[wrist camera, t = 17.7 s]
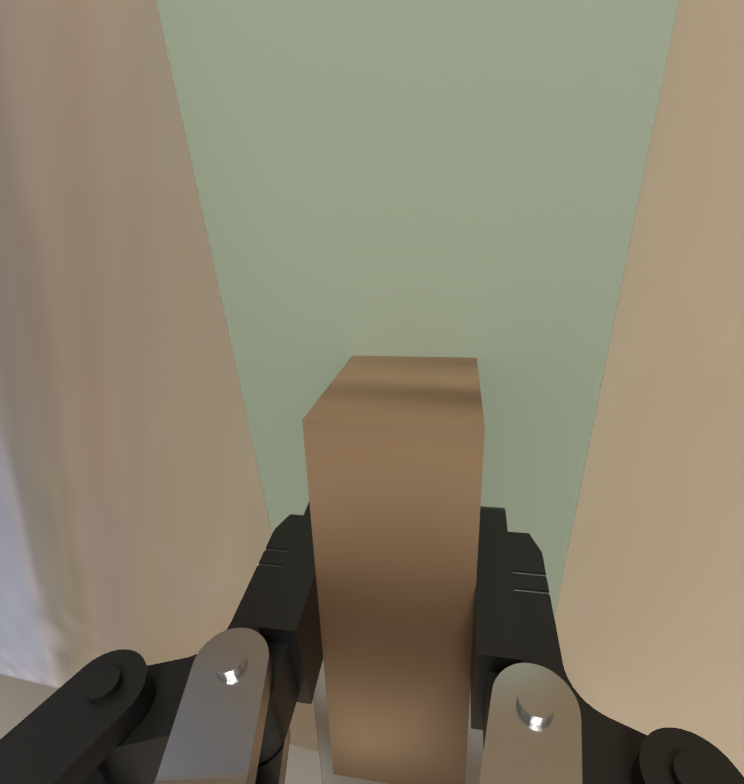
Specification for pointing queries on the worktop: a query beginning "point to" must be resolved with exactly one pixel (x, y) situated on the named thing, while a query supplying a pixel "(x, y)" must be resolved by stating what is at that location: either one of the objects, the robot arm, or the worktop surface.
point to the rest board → (423, 210)
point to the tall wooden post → (396, 568)
